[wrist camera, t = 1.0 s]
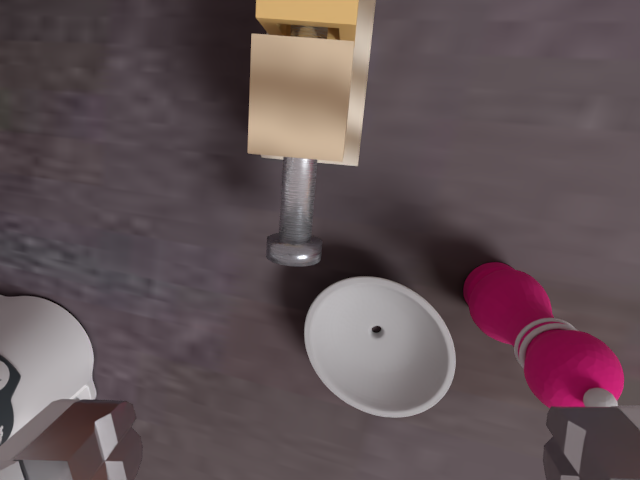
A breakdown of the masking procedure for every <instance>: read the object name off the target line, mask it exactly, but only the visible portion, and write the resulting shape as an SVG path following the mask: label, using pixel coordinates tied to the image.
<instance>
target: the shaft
mask: <svg viewBox="0 0 640 480" xmlns="http://www.w3.org/2000/svg"><path fill="white" fill-rule="evenodd" d="M327 33H328V27H315V26H302V25H291V32H290V36H292V37H305V38H319V39H327ZM316 170H317V160H316V159H304V158H293V157H283V172H282V189H281V207H280V224H279V233H276V234H272V235H270V236H268V237H267V250H266V257H267V259H268V260H270V261H272V262H274V263H277V264H281V265H286V266H310V265H314V264H317V263H319V262H320V260H321V251H322V240H321V239H319V238H317V237H315V236H312V235H311V233H312V220H313V208H314V195H315V183H316Z"/></svg>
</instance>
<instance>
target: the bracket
mask: <svg viewBox="0 0 640 480" xmlns="http://www.w3.org/2000/svg"><path fill="white" fill-rule="evenodd" d="M375 2H376V0H359V5H358V15H357V26H356V36H355V46H354V41H346V40H332V39H319V38H305V37H292V36H279V35H269V34H268V33H266V35H265V34H252V35H251V65H250V95H249V125H248V153H249V154H260V155H261V157H262V158H273V159H283V157H293V158H304V159H316V160H317V163H328V164H340V165H351V166H358V159H359V150H360V141H361V132H362V122H363V113H364V104H365V94H366V85H367V76H368V67H369V57H370V48H371V39H372V29H373V20H374V11H375Z"/></svg>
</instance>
